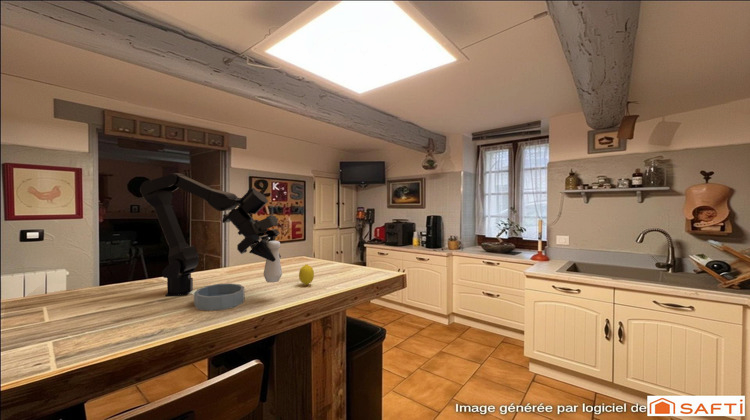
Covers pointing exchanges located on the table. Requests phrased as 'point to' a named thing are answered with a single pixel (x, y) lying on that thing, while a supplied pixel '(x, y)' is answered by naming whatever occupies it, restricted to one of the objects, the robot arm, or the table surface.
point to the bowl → (219, 297)
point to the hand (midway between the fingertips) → (277, 259)
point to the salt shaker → (273, 263)
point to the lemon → (306, 274)
